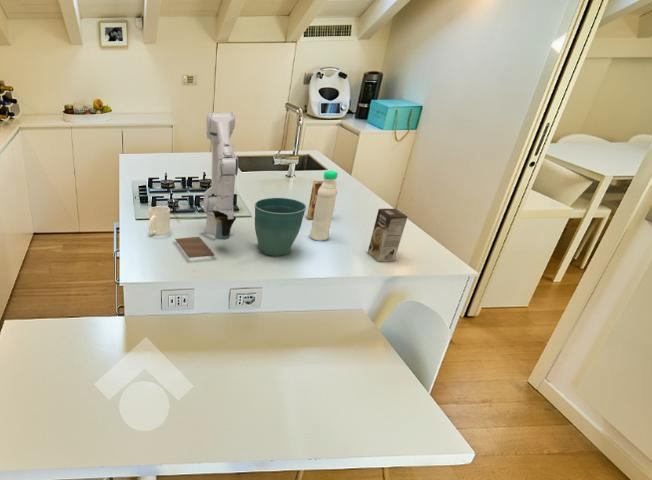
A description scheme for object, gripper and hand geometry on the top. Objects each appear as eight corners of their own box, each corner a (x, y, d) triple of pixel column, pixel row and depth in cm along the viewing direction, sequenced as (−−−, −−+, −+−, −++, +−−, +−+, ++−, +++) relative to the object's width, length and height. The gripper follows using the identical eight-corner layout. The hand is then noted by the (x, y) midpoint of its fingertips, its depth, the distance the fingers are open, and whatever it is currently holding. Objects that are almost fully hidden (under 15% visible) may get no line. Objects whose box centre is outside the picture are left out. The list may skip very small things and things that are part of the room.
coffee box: (366, 252, 188) (377, 208, 179) (383, 251, 189) (395, 207, 179) (377, 261, 181) (390, 216, 171) (395, 261, 181) (408, 215, 172)
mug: (158, 242, 200) (158, 216, 194) (140, 238, 204) (140, 213, 197) (173, 233, 208) (173, 208, 202) (156, 229, 212) (156, 205, 206)
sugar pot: (223, 233, 189) (225, 213, 185) (233, 237, 186) (234, 217, 181) (211, 236, 187) (212, 215, 183) (221, 240, 183) (222, 219, 179)
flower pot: (289, 263, 181) (296, 216, 171) (242, 254, 189) (246, 208, 179) (304, 247, 193) (312, 202, 183) (260, 239, 201) (265, 195, 191)
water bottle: (328, 235, 203) (341, 170, 188) (327, 241, 197) (341, 174, 183) (310, 234, 205) (321, 168, 190) (308, 240, 199) (320, 173, 185)
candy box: (308, 219, 219) (314, 183, 210) (306, 216, 222) (312, 180, 213) (329, 219, 218) (336, 183, 209) (327, 216, 222) (334, 180, 213)
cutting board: (174, 242, 200) (174, 238, 199) (199, 240, 201) (199, 236, 200) (188, 261, 184) (188, 257, 183) (214, 259, 185) (215, 255, 184)
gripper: (208, 189, 183) (206, 227, 191) (221, 201, 171) (218, 240, 179) (227, 188, 184) (224, 225, 192) (241, 199, 172) (237, 238, 180)
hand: (222, 232), depth 185 cm, fingers closed on sugar pot, 5 cm apart
